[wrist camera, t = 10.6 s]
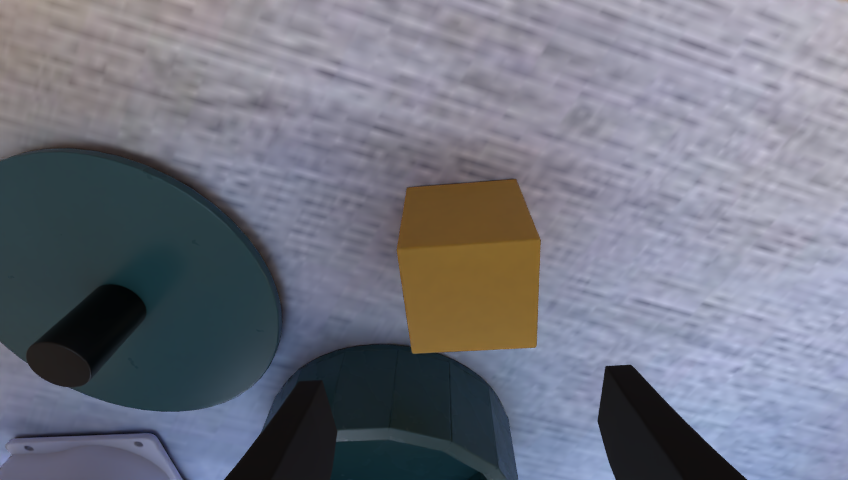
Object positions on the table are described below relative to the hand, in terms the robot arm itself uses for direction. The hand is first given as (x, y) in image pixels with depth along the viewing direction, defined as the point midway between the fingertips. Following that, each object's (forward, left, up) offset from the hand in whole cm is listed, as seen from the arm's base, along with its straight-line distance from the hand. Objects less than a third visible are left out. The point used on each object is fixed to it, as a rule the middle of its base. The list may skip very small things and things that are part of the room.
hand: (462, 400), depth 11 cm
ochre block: (+1, 0, -9) cm, 9 cm away
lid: (-15, -2, -8) cm, 18 cm away
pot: (-4, -13, -9) cm, 16 cm away
